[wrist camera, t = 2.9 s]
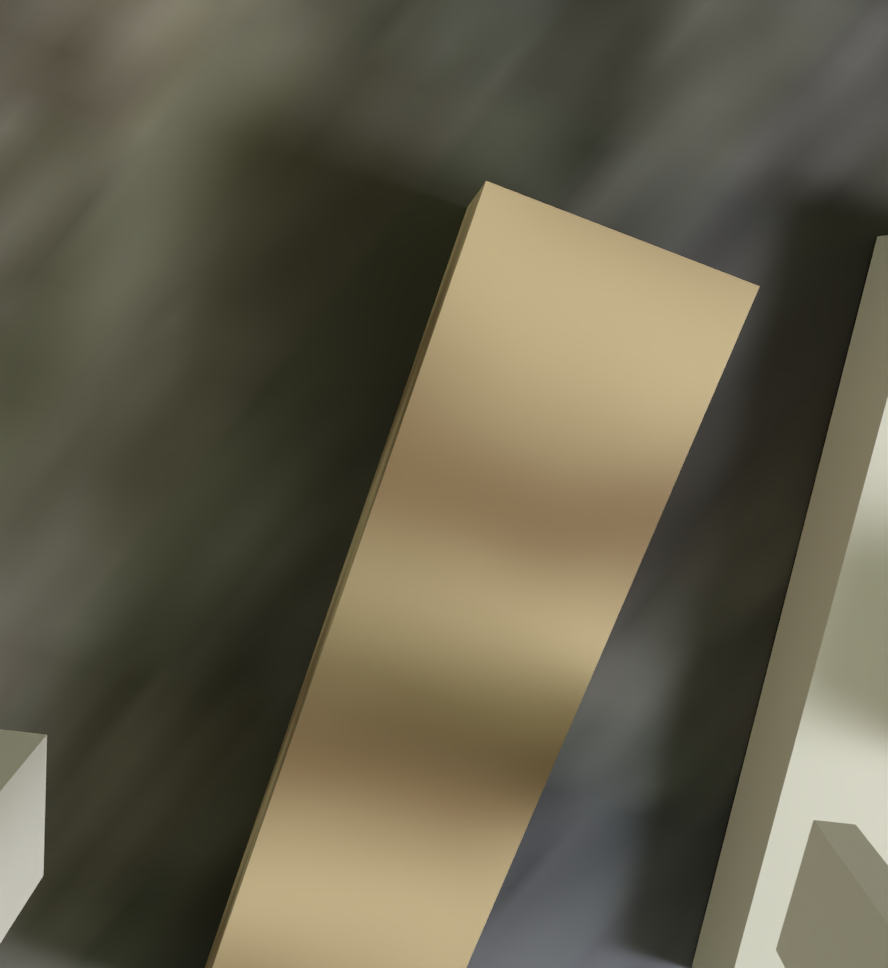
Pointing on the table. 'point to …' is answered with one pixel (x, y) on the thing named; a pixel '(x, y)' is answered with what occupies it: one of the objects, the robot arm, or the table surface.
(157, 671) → the table surface
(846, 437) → the fulcrum
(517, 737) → the oak bar
